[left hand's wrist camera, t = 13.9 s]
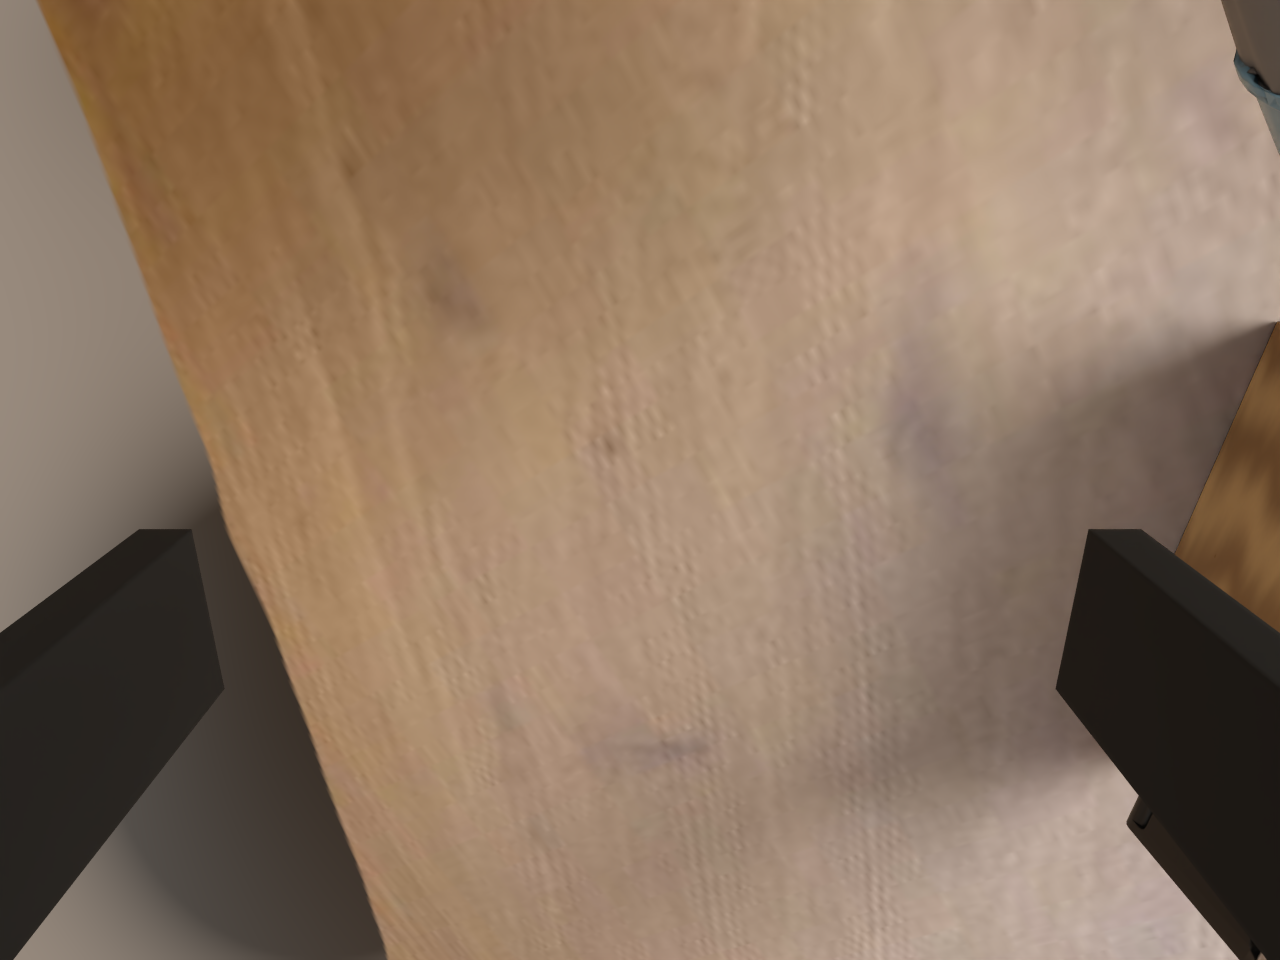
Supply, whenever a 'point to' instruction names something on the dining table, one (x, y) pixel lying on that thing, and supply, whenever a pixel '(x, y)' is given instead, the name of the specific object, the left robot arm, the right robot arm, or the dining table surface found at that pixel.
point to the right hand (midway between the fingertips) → (1181, 720)
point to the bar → (1244, 500)
